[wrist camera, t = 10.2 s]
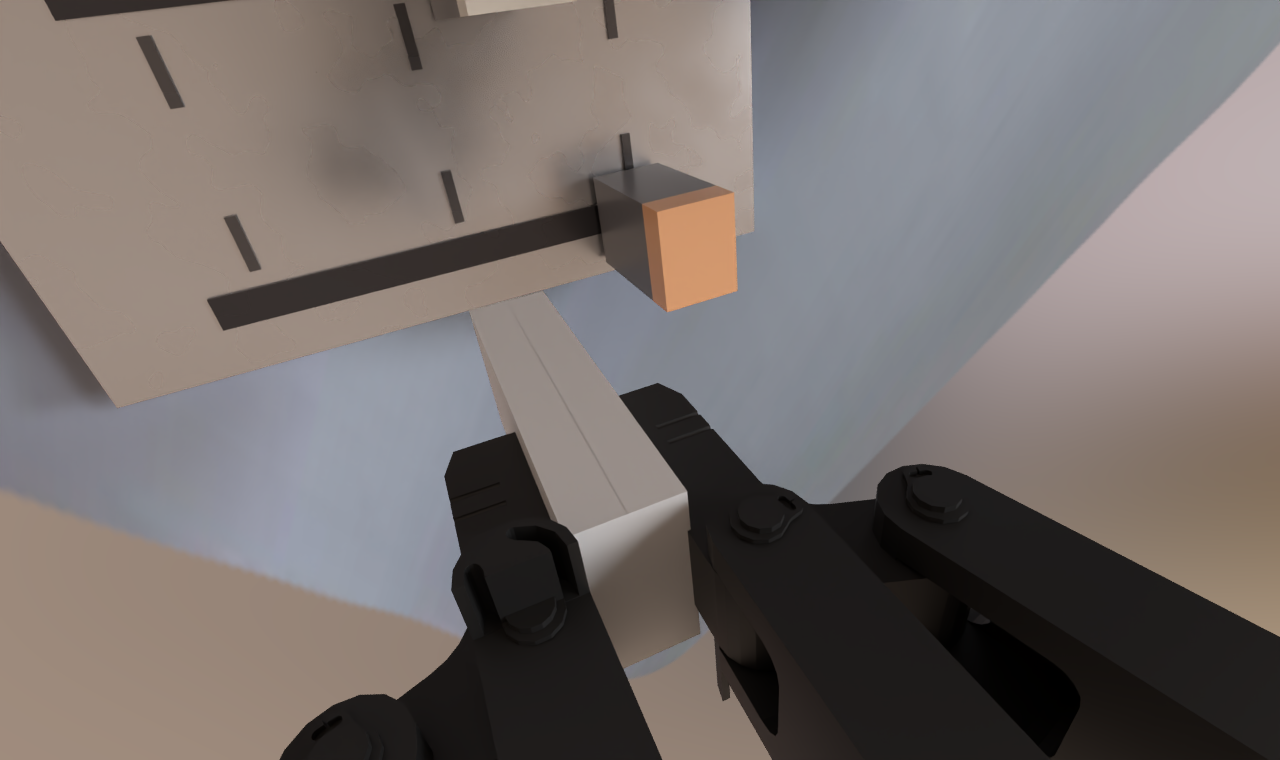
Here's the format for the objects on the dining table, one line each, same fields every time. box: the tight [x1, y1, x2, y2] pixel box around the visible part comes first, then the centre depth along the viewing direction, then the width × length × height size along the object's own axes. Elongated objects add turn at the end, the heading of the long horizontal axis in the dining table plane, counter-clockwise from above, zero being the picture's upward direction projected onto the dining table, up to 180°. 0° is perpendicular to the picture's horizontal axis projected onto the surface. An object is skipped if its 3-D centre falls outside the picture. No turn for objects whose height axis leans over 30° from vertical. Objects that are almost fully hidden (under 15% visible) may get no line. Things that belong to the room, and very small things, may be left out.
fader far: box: [593, 163, 737, 312], centre depth 20 cm, size 3×2×5 cm
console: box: [0, 0, 754, 408], centre depth 19 cm, size 12×22×2 cm, turn 97°
